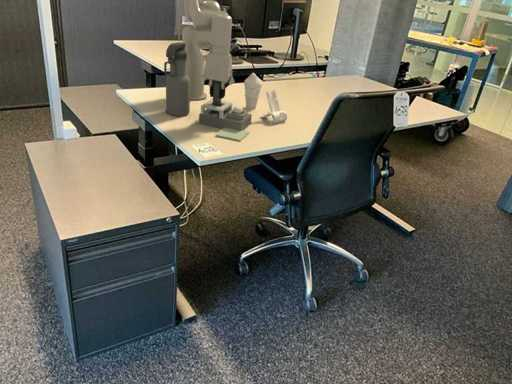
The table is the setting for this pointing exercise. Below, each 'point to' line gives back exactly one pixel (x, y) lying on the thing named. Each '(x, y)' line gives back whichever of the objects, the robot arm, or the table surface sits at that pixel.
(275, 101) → the plastic part
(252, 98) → the soft serve ice cream cone
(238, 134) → the mat
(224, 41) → the robot arm
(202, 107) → the grey push-button box
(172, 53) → the water bottle
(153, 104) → the table surface
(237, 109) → the on button
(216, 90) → the stylus
